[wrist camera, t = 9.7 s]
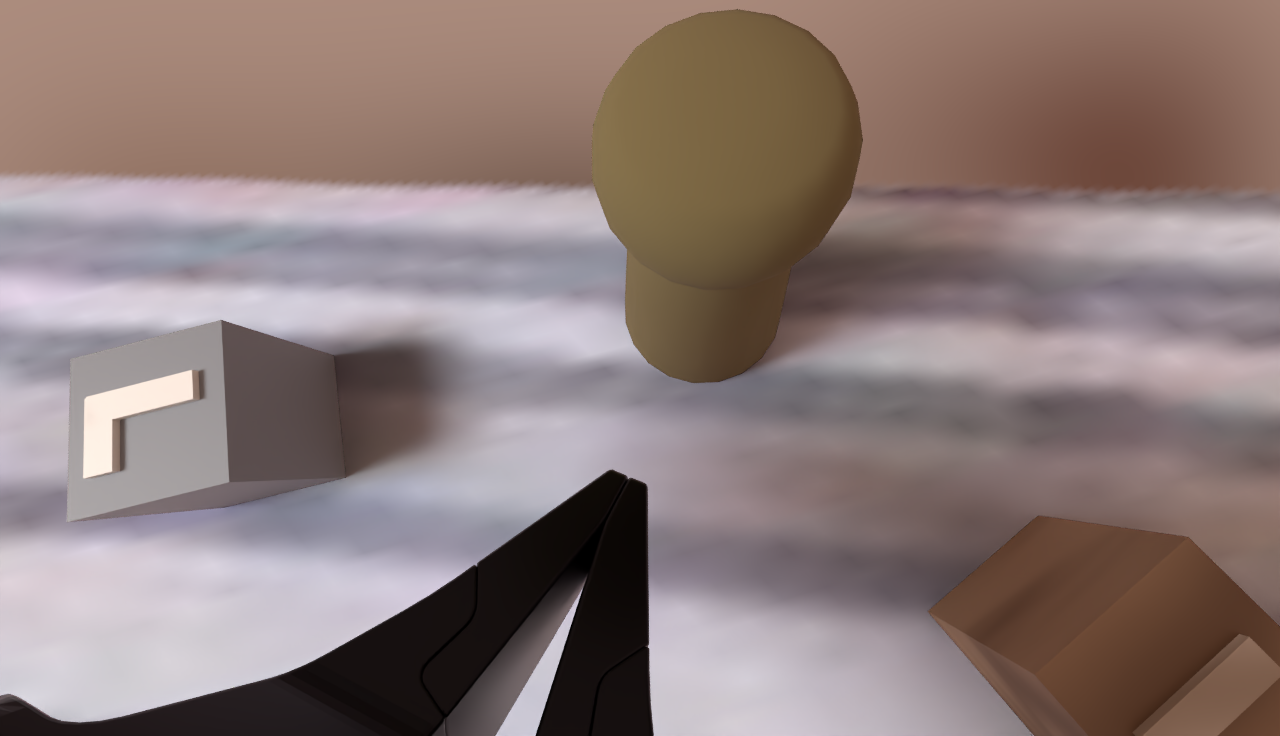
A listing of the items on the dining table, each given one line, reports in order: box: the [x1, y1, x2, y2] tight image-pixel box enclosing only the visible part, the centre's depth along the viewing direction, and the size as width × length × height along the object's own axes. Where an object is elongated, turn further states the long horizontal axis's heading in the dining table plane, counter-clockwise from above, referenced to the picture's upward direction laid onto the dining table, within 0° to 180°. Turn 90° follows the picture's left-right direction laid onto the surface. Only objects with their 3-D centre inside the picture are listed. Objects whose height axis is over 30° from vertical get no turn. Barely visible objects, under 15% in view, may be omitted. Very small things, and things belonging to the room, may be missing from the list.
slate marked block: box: [67, 320, 346, 522], centre depth 17 cm, size 5×5×5 cm
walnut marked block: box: [928, 516, 1280, 736], centre depth 13 cm, size 5×5×5 cm
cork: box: [592, 9, 863, 383], centre depth 13 cm, size 6×6×11 cm
